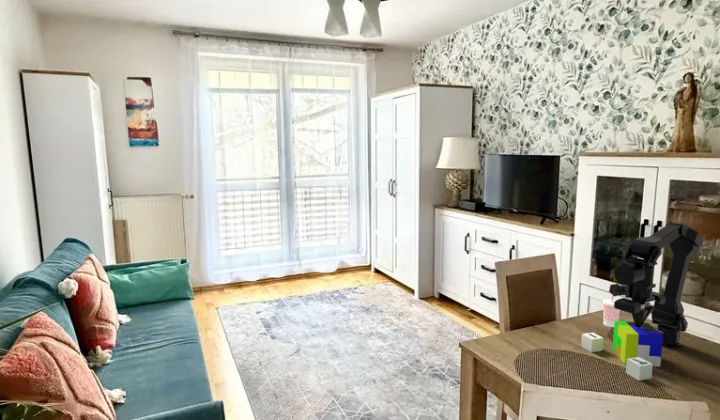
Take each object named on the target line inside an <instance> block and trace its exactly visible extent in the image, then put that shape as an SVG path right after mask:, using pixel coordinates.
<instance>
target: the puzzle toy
mask: <svg viewBox="0 0 720 420" xmlns="http://www.w3.org/2000/svg"><path fill="white" fill-rule="evenodd" d="M662 343H663V336H662V335H661V334H660V333H659V332H658V331H657V328H654V326H652V325H651V324H650V323H649V322H644V323H643V324H642V326H641V327H640V328H637V327H635V323H634V321H621V320H618V321H615V322H614V327H613V337H612V348H611V349H612V350H613V352H614V353H615V355H616V356H617V357H618V358H619V359H620V360H621V362H623V364H624V365H627V359H630V358H636V357H640V358H642V359H644V360H646V361H648V362H650V363H651V364H653V367H657V368H658V367H659V368H660V367H661V363H662V351H663V345H662Z"/></svg>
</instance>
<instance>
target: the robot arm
mask: <svg viewBox="0 0 720 420" xmlns="http://www.w3.org/2000/svg"><path fill="white" fill-rule="evenodd" d="M703 243H704V238H703V235H701V234H700V233H699V232H698V231H696V230H694V229H692V228H690V227H689V226H688V225H687V224H685V223H682V222H680V223H679V222H667V223H666V224H665V226H664V227H662V228H661V229H659V230H658V231H656V232H654V233H652V234H651V235H650V236H641V237H640V236H639V237H637V238H635V239H634V240H632V241H631V242H630V243H629V245H628V247H627V250H626V251H625V254H624V256H623V258H622V261H623V262H622V263H621V264H622V265H621V266H619V267H617V268H616V269H615V271H614V277H615V280H616V281H617V282H618V283H619V284H618V283H611V284H610V285H609V290H608V292H609V293H610V294H611V295H612V294H613V297H618V296H619V297H620V296H621V298H619V299H616V301H614V308H616V309H619V310H620V311H623V312H625V313H629V314H631V317H632V318H633V322H634V323H635V327H637V328H640V327H641V326H642V324H643V323H646V320H647V319H648V318H649V316H650V315H651V322H652V323H651V324H654V325H657V328H656V330H657V331H658V332H659V333H660V334H661V335H662V336H663V343H662V347H666V348H668V349H673V348H678V347H679V348H680V347H684V343H681V342H680V339H681V337H680V336H681V332H687V328H688V325H689V323H688V321H687V319H686V317H685V315H684V312H685V309H684V305H683V303H682V301H681V298H682V295H683V289H684V286H685V282H686V278H687V274H688V271H689V270H688V269H689V266H690V262H691V260H692V258H693V257H694V256H695V255H697V254H698V253H699V251H700V248H701V247H702V245H703ZM668 245H669V249H670V250H671V254H672V258H671V262H670V266H669V270H668V274H667V278H666V282H665V287H664V291H663V293H661V292H656V291H653V289H654V288H656V285H657V283H654V274H655V266H657V265H658V259H659V258H660V256H661V255H662V254H663V253H662V251H663V249H664V248H665V247H666V246H668ZM622 296H624V297H622ZM651 302H653V305H652V303H651Z"/></svg>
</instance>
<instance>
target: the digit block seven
mask: <svg viewBox="0 0 720 420" xmlns="http://www.w3.org/2000/svg"><path fill="white" fill-rule="evenodd" d="M625 366H626V367H625V373H626V374H627V375H629V376H631V377H632V378H633V379H635V380H637V381H645V380H649V379H652V378H653V377H652V375H653V367H654V366H653V364H651V363H650V362H648V361H646V360H644V359H642V358H640V357H636V358H630V359H627V364H625Z"/></svg>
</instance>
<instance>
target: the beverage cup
mask: <svg viewBox="0 0 720 420" xmlns="http://www.w3.org/2000/svg"><path fill="white" fill-rule="evenodd" d="M616 300H617V299H616ZM616 300H615V299H614V296H613V294H611V299H609V298H608V299H607V298H606V299H603V300H602V304H603V321H602V322H603V326H606V327H608V328H614V322H615V321H619V319H620V313H621V312H620V311H621V310H619V309H616V308H614V301H616Z"/></svg>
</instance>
